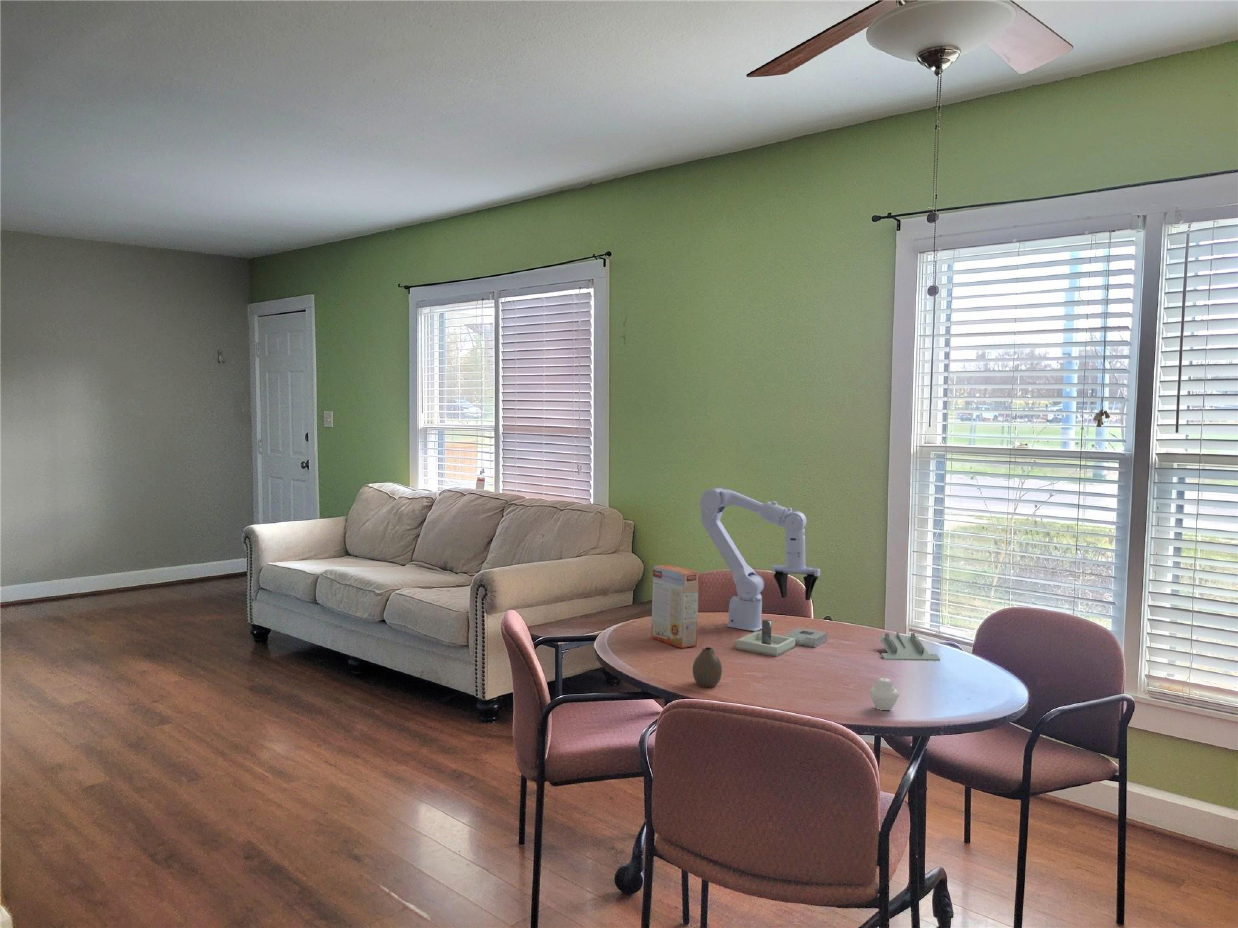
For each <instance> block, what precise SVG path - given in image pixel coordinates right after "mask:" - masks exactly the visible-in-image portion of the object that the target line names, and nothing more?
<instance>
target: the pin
mask: <svg viewBox="0 0 1238 928" xmlns="http://www.w3.org/2000/svg"><path fill="white" fill-rule="evenodd" d="M772 623H773V621H772V619H771V620H770V619H761V624H762V629H761V632H762V638H761V643H762V644H767V645H771V634H772V628H773V627H772Z"/></svg>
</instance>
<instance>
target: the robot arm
mask: <svg viewBox="0 0 1238 928" xmlns="http://www.w3.org/2000/svg"><path fill="white" fill-rule="evenodd" d="M730 506H736V507H738V508H742V509H744V510H748V511H751V512H754V513H756V514H758V515H759V517H761V520H763V521H766V522H768V523H771V524H773V525H776V526H778V527H780V528H784V530H785V538H784V539H785V565H779V564H778V565H775V564H774V565H772V566H771V573H774V574H773V578H774V580H775V581H776V583H777V586H778V589H779V591H780V595H781V598H782V599H784V598H787V597H788V577H789V574H791V575H802V576H803V575H804V576H803V577H802V578H803V582H804V591H805V592H804V593H805V595H804V598H805V601H810V600H811V599H812V594H813V590H814V586H815V585H816V582H817V581H818V580H819V579H818V578H819V576H821V569H820V568H815V567H808V566H806V536H805V534H806V531H805V527H806V526H807V522H808V520H807V517H806V515H805V514H804V513H803V512H801V511H800V510H793V508H792V507H788V508H787V507H784V506H782V505H780V504H778V501H775V500H773V501H766V502H765V503H763V502H760V501H758V500H756V499H753V498H751V497H748V496H746V495H744V494H742V493H739V492H737V491H734V490H732V489H727V488H724V487H720V486H718V487H715V488H709V489H706V490H705V491H704V492H703V493H702V494H701V497H700V499H699V507H700V513H701V524H702V526H703V528H704V529H705V531H706V533H707V534H708V536H709V537H710V539H711V540H712V543H713V544H714V546H715V547H716V548H717V550H718V553H719V554H720V555H721V557H722V559H723V560H724V563H725V564H726V565H727V567H728V569H729V570H730V572H731V573H732V581H733V582H734V585H735V587H736V588H735V589H736V593H737V595H733V596H732V597H731V599H730V601H729V605H728V624H727V625H726V627H728V628H733V629H739V630H745V631H750V632H756V631H757V632H758V631H760V630H762V613H763V611H762V608H763V596H762V595H761V592H763V591H764V588H765V581H764V579H763V578H762V576H761V575H759V574H757V573H756V572H755V570H754V569H753V568H752V567H751V566H749V565H748V564H747V561H746V560H745V559H744V557H743V555H742V554H741V552H740V551H739V549H738V548H737V545H735V542H734V541H733V539H732V538H731V536H730V535H729V532H727V530H726V528H725V526H724V525H723V523H722V521H721V518H722V515H723V512H724V510H725V508H726V507H730Z"/></svg>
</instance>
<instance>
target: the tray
mask: <svg viewBox="0 0 1238 928" xmlns="http://www.w3.org/2000/svg"><path fill="white" fill-rule="evenodd" d="M761 638H762V631H758V630H757V631H752V633H749V634H746V635H744V636H742V637H740V638H737V639H736V649H737V650H739V651H740V650H741V651H745V650H746V651H745V652H750V653H756V654H760V653H761V655H765V656H766V655H767V656H772V657H779V656H781V655H783V654H785V653H786V652H789V651H791V650H792V649H795V648H796V644H795V638H790V637H785V635H784V636H783V635H778V634H773V633H771V645H767V644H762V643H761Z"/></svg>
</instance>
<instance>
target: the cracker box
mask: <svg viewBox="0 0 1238 928" xmlns="http://www.w3.org/2000/svg"><path fill="white" fill-rule="evenodd" d="M652 569H653V570H652V599H651V601H652V602H651V606H652V607H651V634H650V635H651V636H650V638H652V639H655V640H658V641H661V642H662V643H663V642H664V643H666V644H669V645H670V646H673V647H677V648H679V649H687V648H692V647H697V642H698V618H699V614H698V613H699V586H700V585H699V583H700V572H698V571H695V570H693V569H692V570H690V569H686V568H683V567H678V566H675V565H671V564H660V565H654V566H653V568H652Z"/></svg>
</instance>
